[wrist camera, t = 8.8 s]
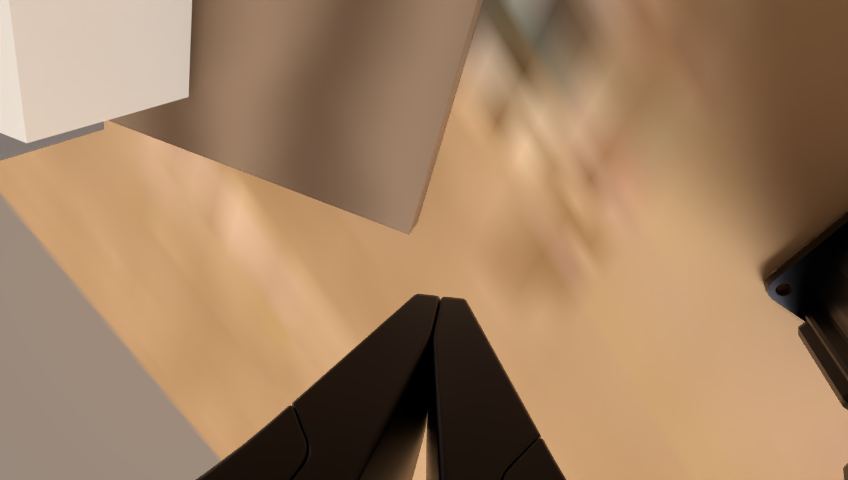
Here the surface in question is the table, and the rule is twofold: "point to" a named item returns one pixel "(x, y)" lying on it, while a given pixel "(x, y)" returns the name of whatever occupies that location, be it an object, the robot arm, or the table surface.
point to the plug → (89, 61)
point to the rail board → (323, 96)
